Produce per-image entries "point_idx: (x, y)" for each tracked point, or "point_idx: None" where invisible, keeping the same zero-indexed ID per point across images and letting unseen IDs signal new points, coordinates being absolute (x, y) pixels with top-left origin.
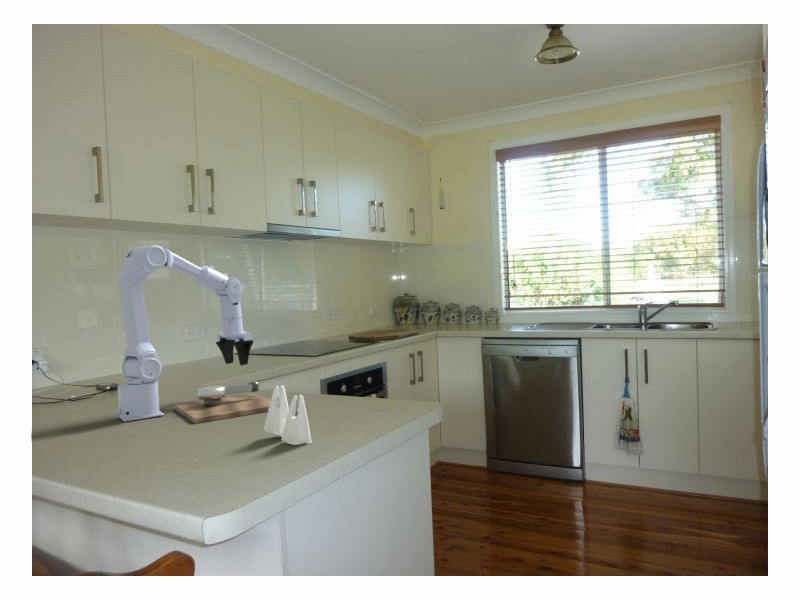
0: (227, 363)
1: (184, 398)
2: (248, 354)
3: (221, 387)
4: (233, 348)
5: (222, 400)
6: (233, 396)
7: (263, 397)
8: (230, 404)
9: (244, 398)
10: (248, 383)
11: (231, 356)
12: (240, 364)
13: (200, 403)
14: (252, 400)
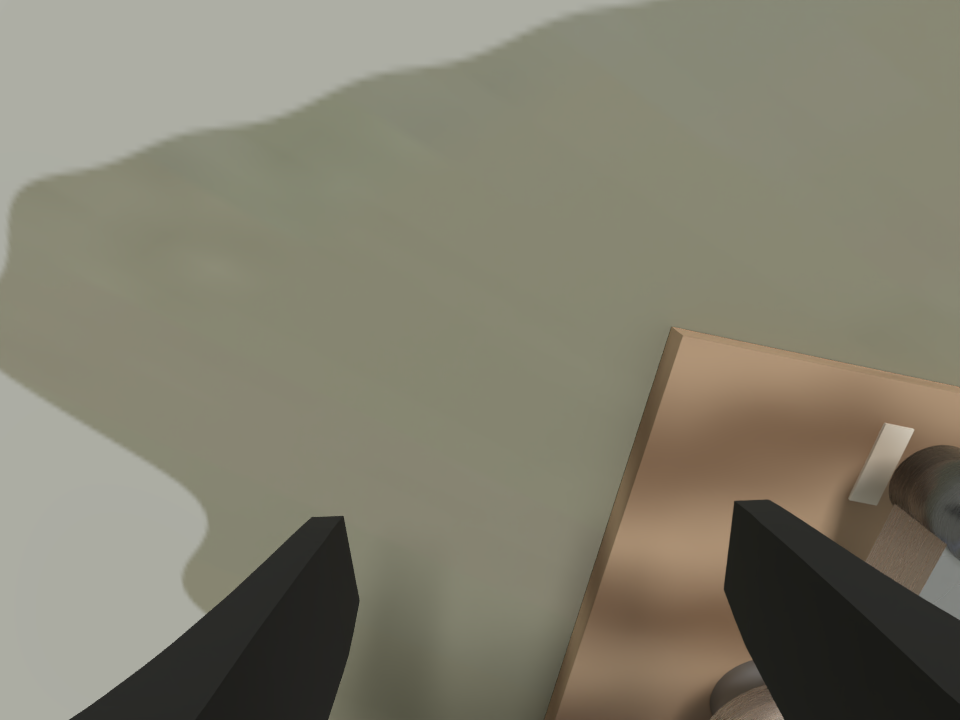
0: (358, 602)
1: (208, 608)
2: (926, 616)
3: None
4: (205, 706)
5: (698, 606)
6: (636, 494)
7: (935, 393)
8: None
9: (800, 492)
10: (957, 563)
11: (305, 610)
12: (736, 602)
13: (641, 715)
14: None
